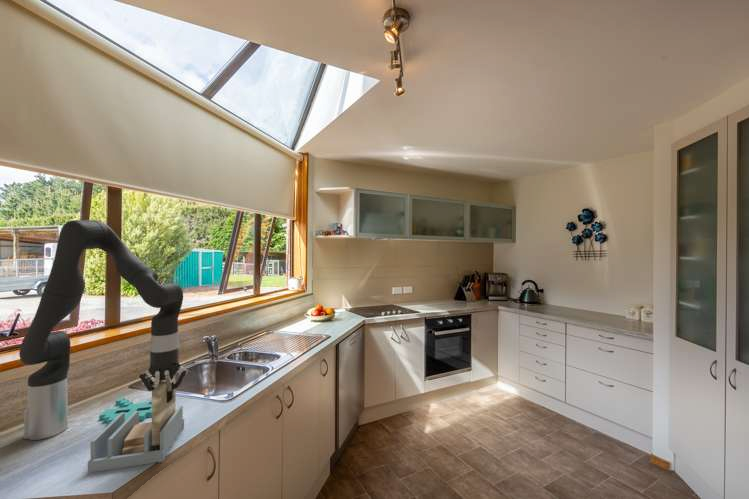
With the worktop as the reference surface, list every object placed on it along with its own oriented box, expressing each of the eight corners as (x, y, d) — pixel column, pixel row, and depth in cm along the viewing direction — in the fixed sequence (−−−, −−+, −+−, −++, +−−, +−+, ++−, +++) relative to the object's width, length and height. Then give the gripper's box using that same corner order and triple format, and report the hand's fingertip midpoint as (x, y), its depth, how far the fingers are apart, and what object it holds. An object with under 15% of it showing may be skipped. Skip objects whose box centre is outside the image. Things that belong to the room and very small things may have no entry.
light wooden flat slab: (151, 445, 92) (151, 391, 92) (168, 421, 105) (168, 374, 105) (159, 444, 93) (159, 390, 93) (175, 421, 106) (175, 373, 105)
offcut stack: (121, 463, 91) (121, 444, 91) (135, 439, 102) (135, 422, 102) (147, 457, 93) (147, 439, 93) (159, 435, 104) (159, 419, 104)
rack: (87, 472, 86) (87, 443, 86) (122, 435, 104) (122, 411, 104) (162, 461, 91) (162, 434, 91) (184, 427, 108) (184, 404, 108)
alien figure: (118, 404, 126) (87, 432, 106) (118, 398, 126) (87, 425, 106) (175, 397, 131) (155, 423, 112) (175, 392, 131) (155, 417, 112)
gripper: (133, 352, 93) (133, 410, 94) (185, 349, 97) (184, 405, 97) (144, 345, 101) (144, 399, 101) (192, 342, 104) (192, 394, 104)
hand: (164, 402), depth 99 cm, fingers closed on light wooden flat slab, 2 cm apart
